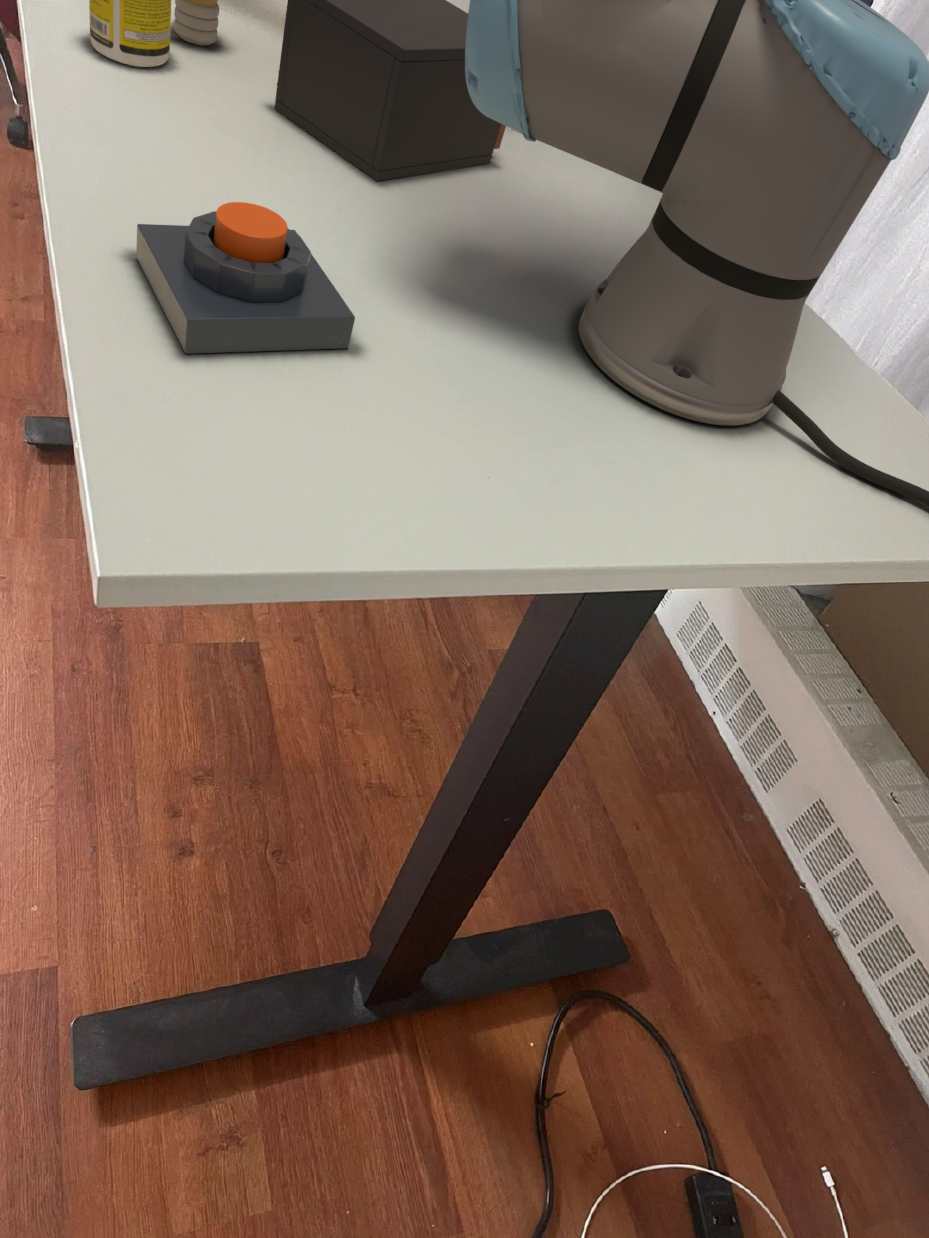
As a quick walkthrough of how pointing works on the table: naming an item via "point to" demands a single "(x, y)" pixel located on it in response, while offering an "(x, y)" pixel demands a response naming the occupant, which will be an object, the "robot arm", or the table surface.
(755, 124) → the robot arm
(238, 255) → the button
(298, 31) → the cabinet
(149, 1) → the pill bottle
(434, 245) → the table surface
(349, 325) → the control box
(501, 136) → the drawer
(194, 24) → the light bulb
